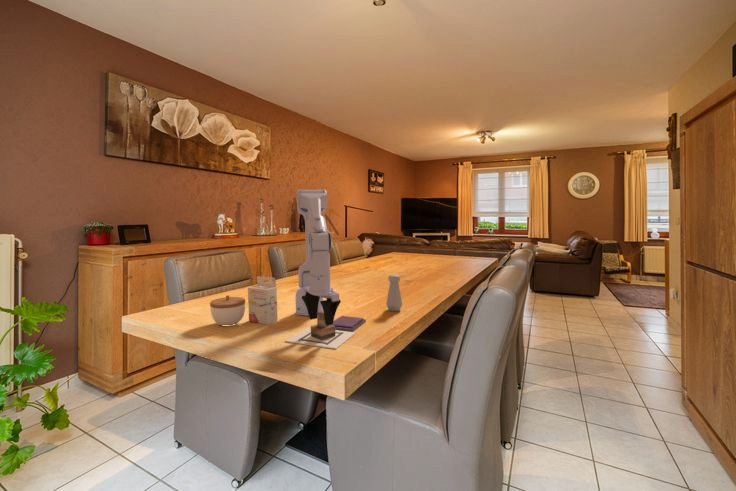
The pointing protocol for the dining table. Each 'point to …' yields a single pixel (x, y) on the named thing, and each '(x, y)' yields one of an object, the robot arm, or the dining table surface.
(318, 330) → the stamp
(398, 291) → the salt shaker
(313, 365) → the dining table surface
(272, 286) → the ink cartridge box
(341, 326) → the ink pad
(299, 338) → the marked sheet
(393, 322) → the dining table surface
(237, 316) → the lidded jar
